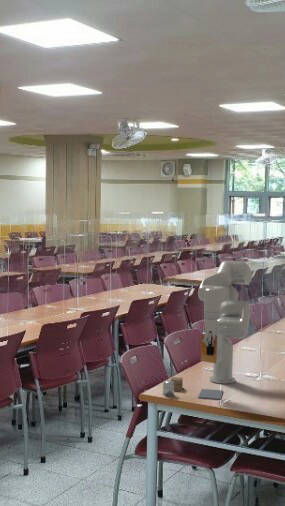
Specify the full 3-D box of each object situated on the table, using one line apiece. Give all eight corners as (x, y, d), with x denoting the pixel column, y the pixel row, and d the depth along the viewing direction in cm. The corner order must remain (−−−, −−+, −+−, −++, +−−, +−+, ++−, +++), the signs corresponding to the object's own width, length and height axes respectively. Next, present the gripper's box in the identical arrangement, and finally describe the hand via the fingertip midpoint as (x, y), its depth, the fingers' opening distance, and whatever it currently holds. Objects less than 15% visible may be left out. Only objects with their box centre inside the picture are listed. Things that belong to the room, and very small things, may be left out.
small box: (200, 361, 297) (200, 333, 296) (205, 358, 303) (206, 331, 302) (216, 363, 293) (217, 335, 292) (221, 360, 299) (222, 333, 298)
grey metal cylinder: (163, 392, 301) (164, 380, 300) (174, 393, 300) (174, 380, 299) (162, 395, 296) (162, 382, 295) (172, 396, 295) (173, 383, 294)
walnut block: (172, 387, 311) (172, 376, 311) (182, 387, 310) (182, 377, 310) (170, 389, 306) (170, 379, 306) (180, 390, 305) (181, 380, 305)
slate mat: (201, 390, 307) (201, 388, 307) (223, 391, 305) (223, 390, 304) (198, 398, 293) (198, 396, 293) (220, 399, 291) (220, 398, 291)
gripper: (206, 311, 306) (205, 348, 307) (201, 317, 289) (200, 356, 290) (222, 312, 304) (221, 349, 305) (218, 318, 287) (217, 357, 288)
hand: (211, 352), depth 298 cm, fingers closed on small box, 7 cm apart
